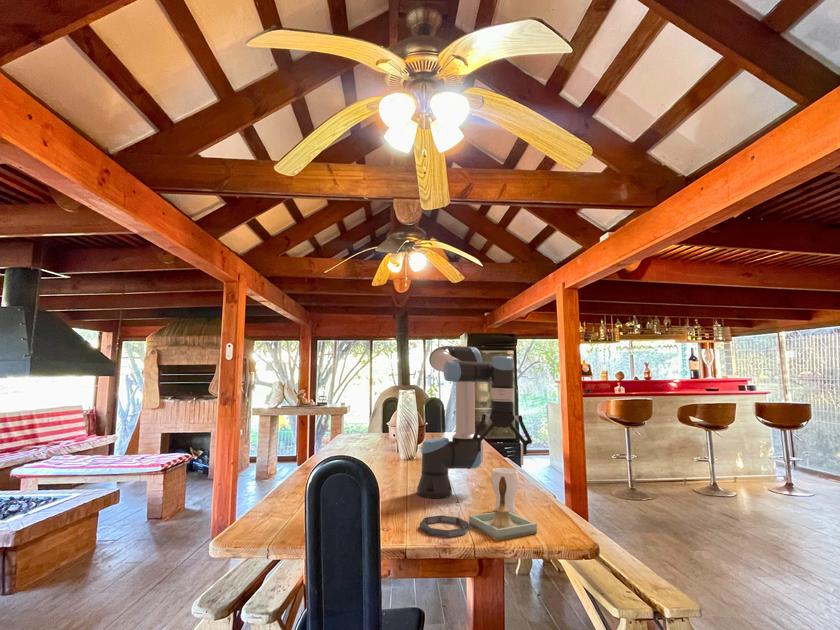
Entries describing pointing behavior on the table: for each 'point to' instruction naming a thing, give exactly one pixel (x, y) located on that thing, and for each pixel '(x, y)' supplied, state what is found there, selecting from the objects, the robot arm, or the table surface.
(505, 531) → the green square tray
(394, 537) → the table surface
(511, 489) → the cup
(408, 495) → the table surface
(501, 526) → the hand bell
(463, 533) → the collar
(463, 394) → the robot arm
